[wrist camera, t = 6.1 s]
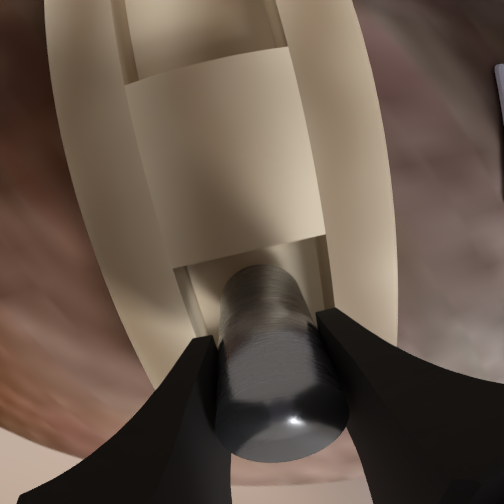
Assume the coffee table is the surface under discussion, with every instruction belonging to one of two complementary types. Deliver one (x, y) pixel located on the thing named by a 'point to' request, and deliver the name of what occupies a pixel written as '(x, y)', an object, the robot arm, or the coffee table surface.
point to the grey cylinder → (273, 371)
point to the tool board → (224, 158)
